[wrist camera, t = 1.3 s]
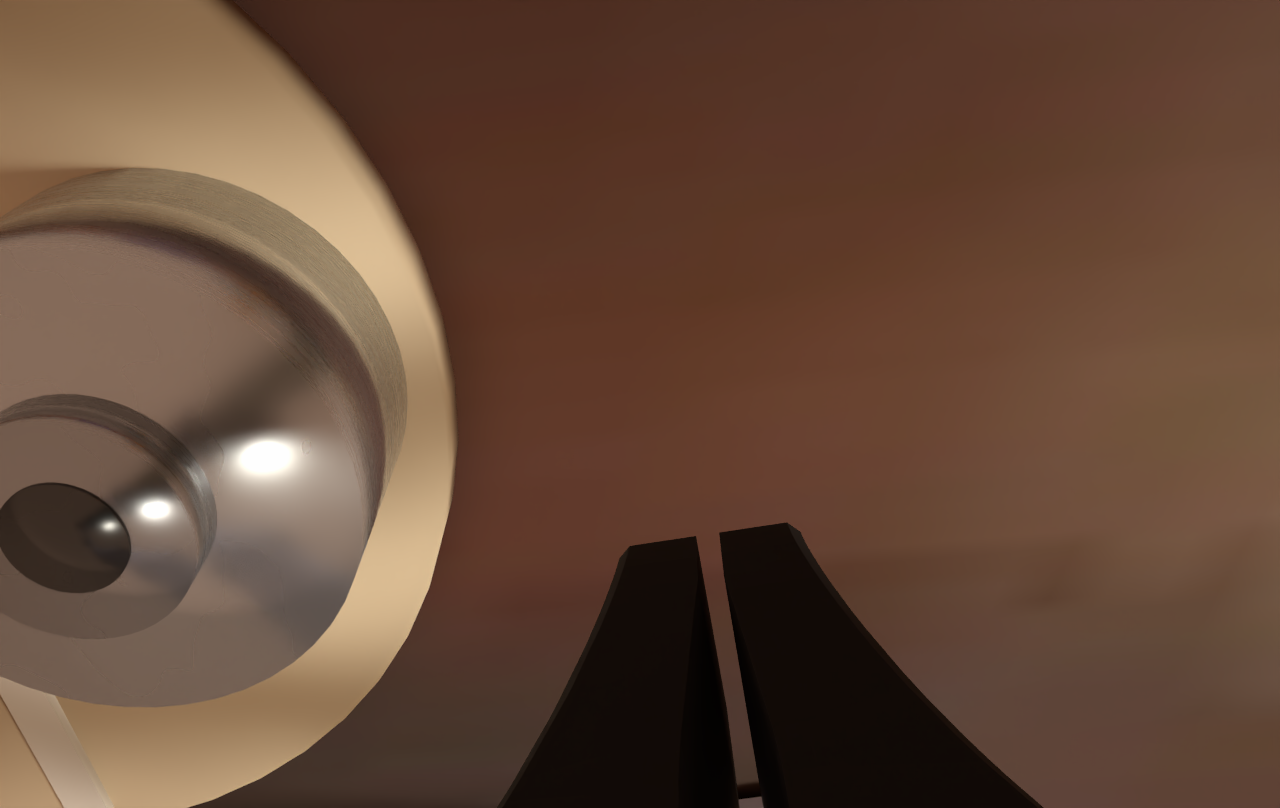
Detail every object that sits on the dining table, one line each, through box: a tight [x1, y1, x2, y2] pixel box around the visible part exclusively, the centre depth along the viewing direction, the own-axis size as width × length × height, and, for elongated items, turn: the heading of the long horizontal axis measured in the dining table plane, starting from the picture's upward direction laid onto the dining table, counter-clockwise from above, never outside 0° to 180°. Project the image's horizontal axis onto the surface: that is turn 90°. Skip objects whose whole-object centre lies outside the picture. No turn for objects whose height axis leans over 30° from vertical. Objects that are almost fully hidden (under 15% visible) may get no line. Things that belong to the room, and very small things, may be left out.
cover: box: [0, 168, 408, 707], centre depth 16 cm, size 7×7×4 cm
